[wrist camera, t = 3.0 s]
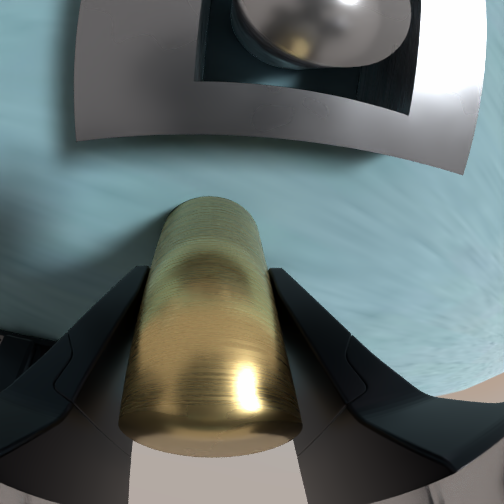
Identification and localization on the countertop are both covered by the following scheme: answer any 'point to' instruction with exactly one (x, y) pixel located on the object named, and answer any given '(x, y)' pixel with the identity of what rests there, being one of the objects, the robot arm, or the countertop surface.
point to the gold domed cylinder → (209, 342)
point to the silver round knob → (320, 31)
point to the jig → (275, 97)
